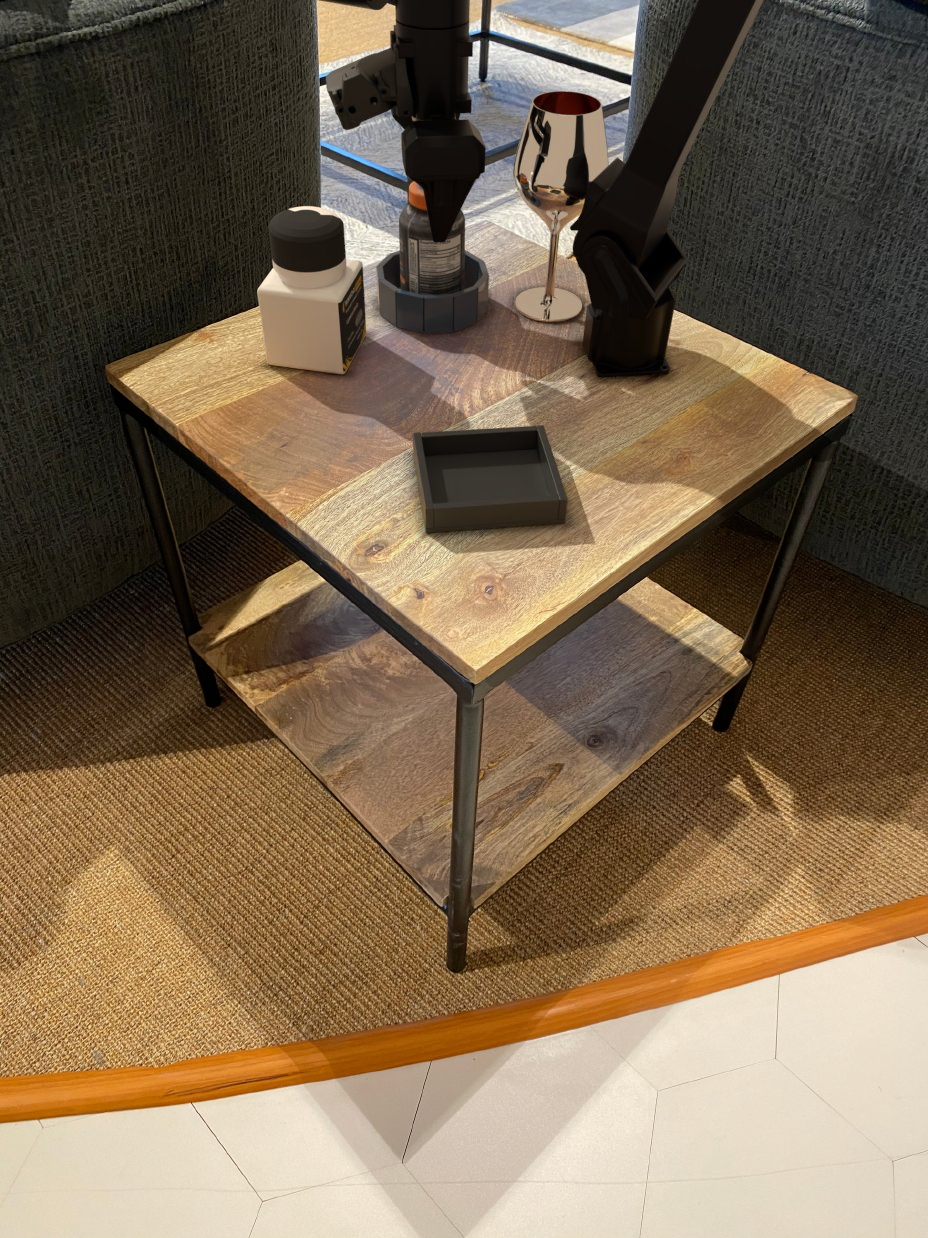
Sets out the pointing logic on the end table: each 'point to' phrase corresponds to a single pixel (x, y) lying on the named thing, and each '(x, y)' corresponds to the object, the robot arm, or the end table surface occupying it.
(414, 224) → the pill bottle
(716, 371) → the end table surface
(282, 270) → the medicine bottle
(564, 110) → the wineglass
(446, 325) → the bowl
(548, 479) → the tray
